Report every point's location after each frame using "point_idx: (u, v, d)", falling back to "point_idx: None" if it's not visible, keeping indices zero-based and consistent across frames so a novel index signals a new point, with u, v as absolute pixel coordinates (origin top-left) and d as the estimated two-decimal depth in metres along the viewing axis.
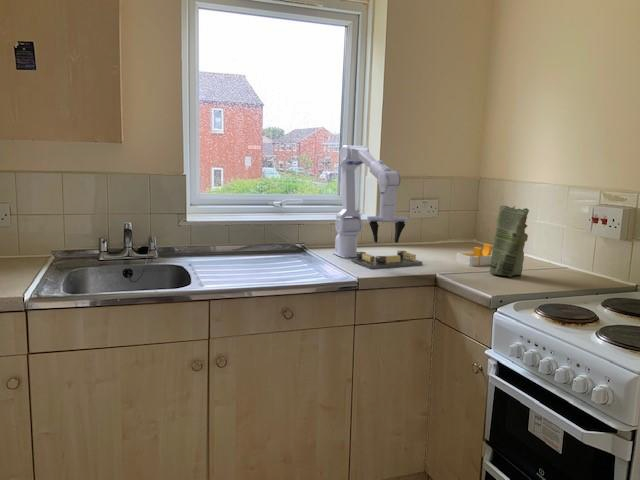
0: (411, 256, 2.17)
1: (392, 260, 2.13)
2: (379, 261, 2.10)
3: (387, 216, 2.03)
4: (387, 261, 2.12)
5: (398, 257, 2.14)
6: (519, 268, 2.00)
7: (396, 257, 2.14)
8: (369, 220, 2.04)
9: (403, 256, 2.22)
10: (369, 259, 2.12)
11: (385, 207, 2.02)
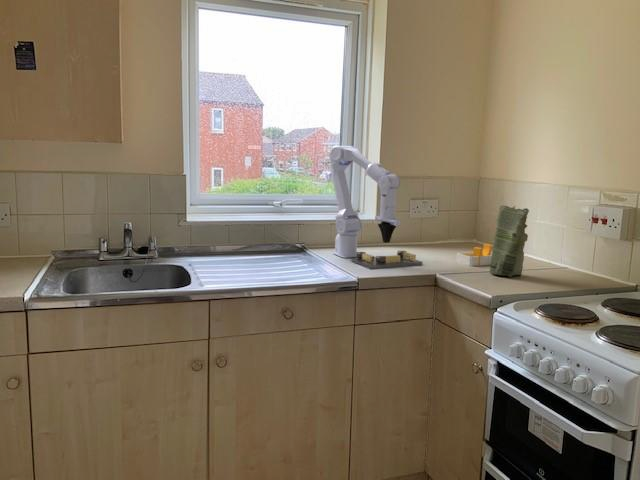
0: (411, 256, 2.17)
1: (392, 260, 2.13)
2: (379, 261, 2.10)
3: (380, 216, 2.14)
4: (387, 261, 2.12)
5: (398, 257, 2.14)
6: (519, 268, 2.00)
7: (396, 257, 2.14)
8: (375, 219, 2.20)
9: (403, 256, 2.22)
10: (369, 259, 2.12)
11: (380, 208, 2.15)
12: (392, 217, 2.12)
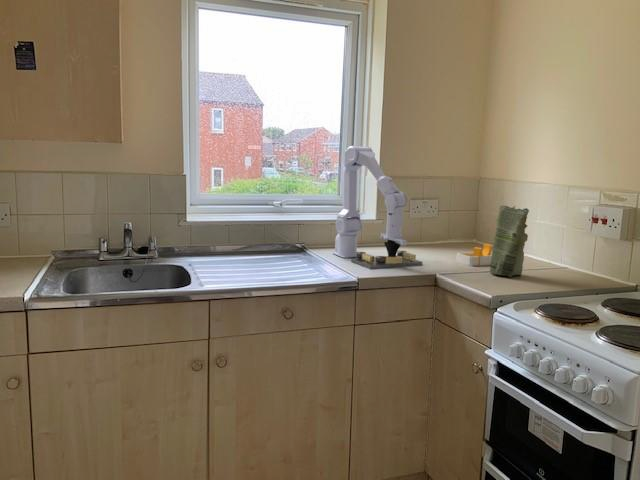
0: (411, 256, 2.17)
1: (393, 261, 2.12)
2: (378, 261, 2.10)
3: (386, 235, 2.11)
4: (387, 261, 2.11)
5: (400, 258, 2.12)
6: (519, 268, 2.00)
7: (398, 258, 2.12)
8: (381, 236, 2.18)
9: (403, 256, 2.22)
10: (369, 259, 2.12)
11: (386, 226, 2.12)
12: (398, 236, 2.10)
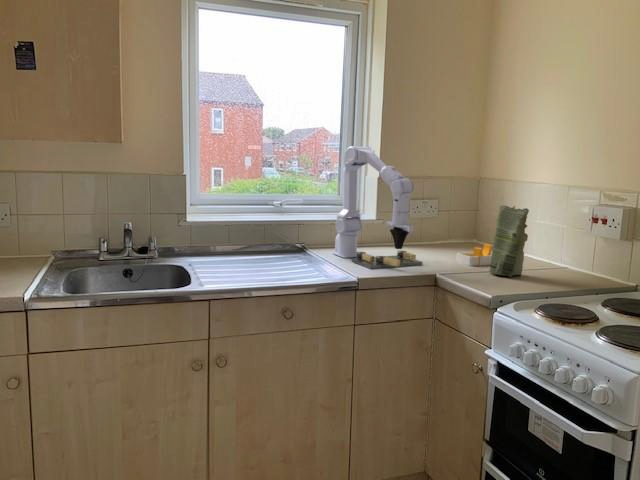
0: (411, 256, 2.17)
1: (389, 263, 2.08)
2: (376, 260, 2.12)
3: (392, 222, 2.07)
4: (384, 262, 2.10)
5: (395, 261, 2.06)
6: (519, 268, 2.00)
7: (393, 261, 2.07)
8: (387, 224, 2.13)
9: (403, 256, 2.22)
10: (369, 259, 2.12)
11: None
12: (405, 223, 2.05)
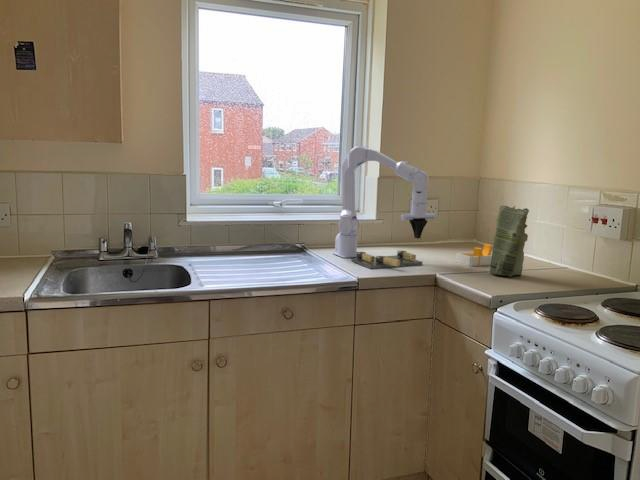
0: (411, 256, 2.17)
1: (389, 263, 2.08)
2: (376, 260, 2.12)
3: (421, 213, 2.16)
4: (384, 262, 2.10)
5: (395, 261, 2.06)
6: (519, 268, 2.00)
7: (393, 261, 2.07)
8: (404, 218, 2.16)
9: (403, 256, 2.22)
10: (369, 259, 2.12)
11: (418, 205, 2.16)
12: None
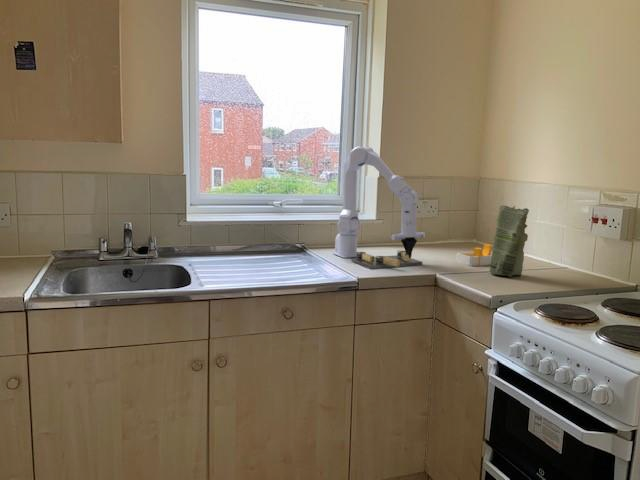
0: (404, 256, 2.16)
1: (389, 263, 2.08)
2: (376, 260, 2.12)
3: (411, 233, 2.15)
4: (384, 262, 2.10)
5: (395, 261, 2.06)
6: (519, 268, 2.00)
7: (393, 261, 2.07)
8: (395, 238, 2.15)
9: (401, 256, 2.22)
10: (369, 259, 2.12)
11: (408, 225, 2.15)
12: None
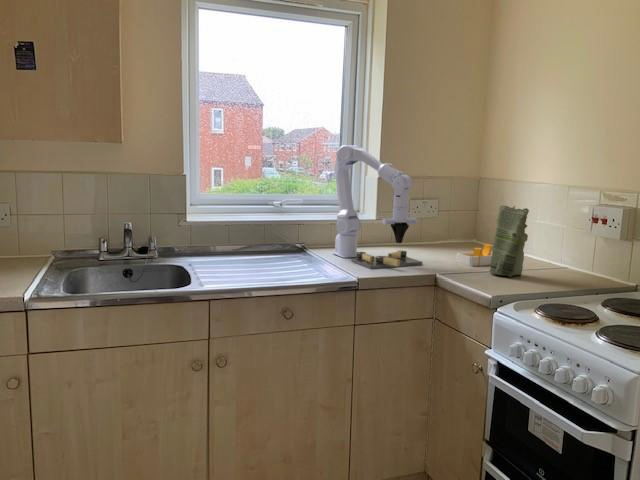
0: None
1: (389, 263, 2.08)
2: (376, 260, 2.12)
3: (402, 218, 2.13)
4: (384, 262, 2.10)
5: (395, 261, 2.06)
6: (519, 268, 2.00)
7: (393, 261, 2.07)
8: (386, 222, 2.12)
9: None
10: (369, 259, 2.12)
11: (400, 210, 2.12)
12: None
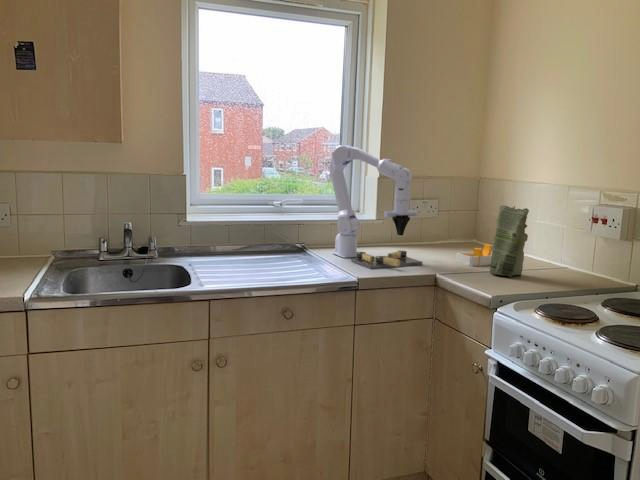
0: None
1: (389, 263, 2.08)
2: (376, 260, 2.12)
3: (404, 210, 2.17)
4: (384, 262, 2.10)
5: (395, 261, 2.06)
6: (519, 268, 2.00)
7: (393, 261, 2.07)
8: (387, 215, 2.16)
9: None
10: (369, 259, 2.12)
11: (401, 202, 2.16)
12: None
